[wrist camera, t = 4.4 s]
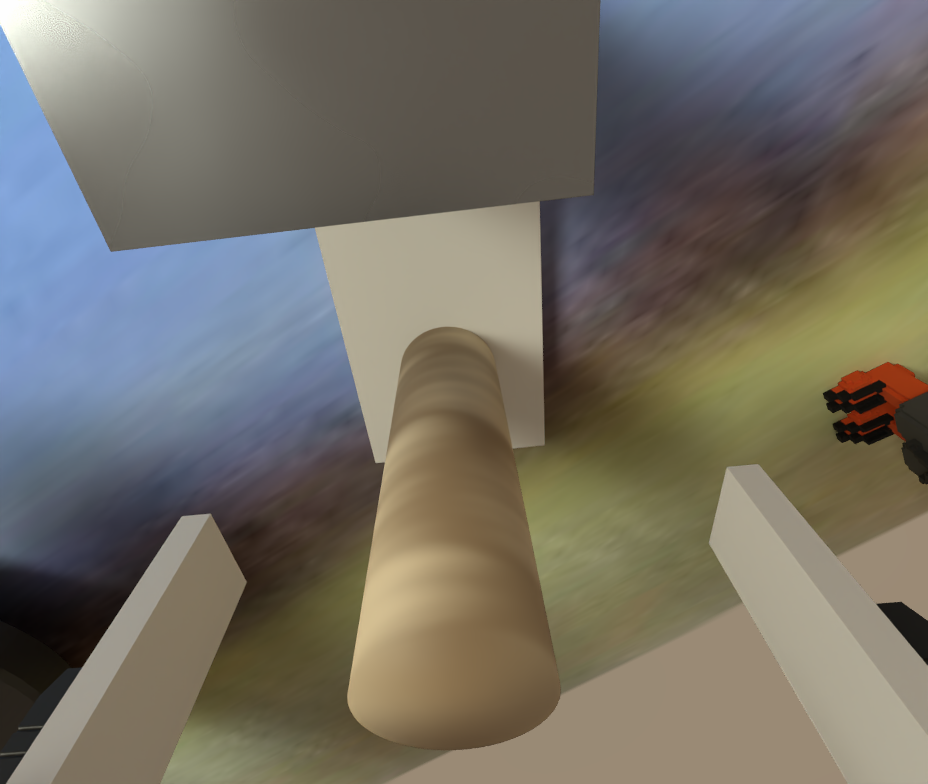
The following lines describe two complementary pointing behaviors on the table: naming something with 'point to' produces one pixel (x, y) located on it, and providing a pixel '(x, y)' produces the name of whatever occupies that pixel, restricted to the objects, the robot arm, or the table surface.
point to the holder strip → (441, 302)
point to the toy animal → (884, 411)
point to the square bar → (309, 108)
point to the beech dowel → (451, 566)
